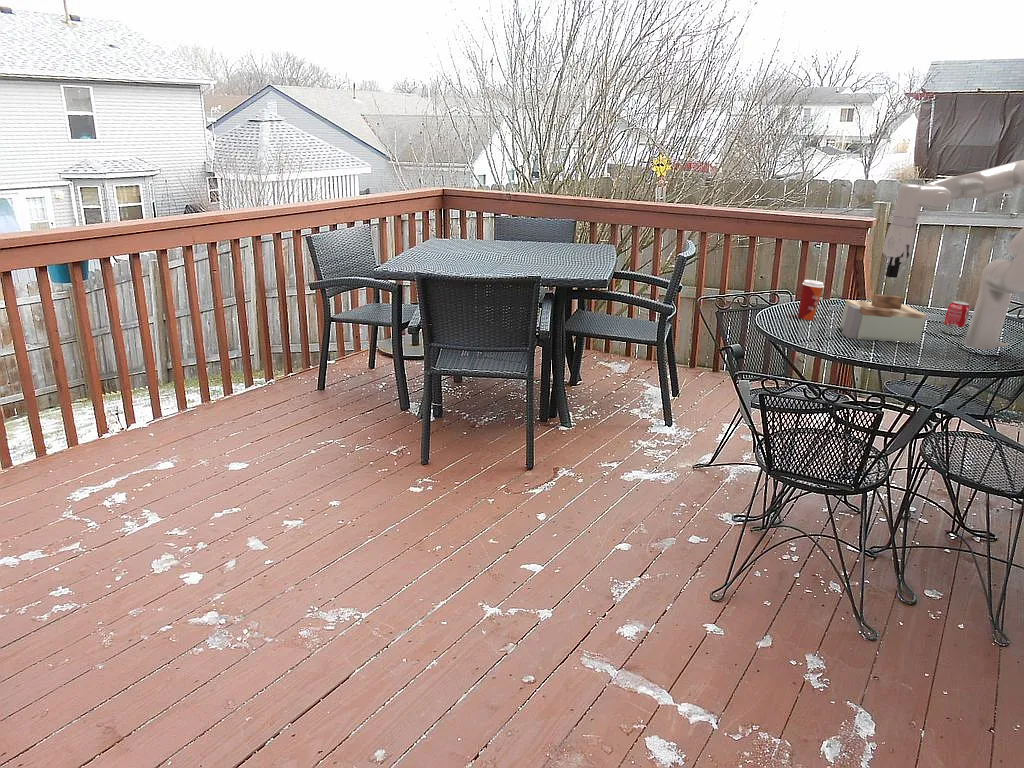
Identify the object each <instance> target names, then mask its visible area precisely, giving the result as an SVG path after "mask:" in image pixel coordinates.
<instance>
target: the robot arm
mask: <svg viewBox="0 0 1024 768" xmlns="http://www.w3.org/2000/svg"><path fill="white" fill-rule="evenodd" d="M1016 189H1024V159H1022V160H1017V161H1013V162H1009V163H1006V164H1001V165H997V166H994V167H992V168H991V167H990V168H986V169H984V170H980V171H975V172H971V173H966V174H962V175H961V174H960V175H957V176H952V177H947V178H943V179H939V180H935V181H933V182H929V183H926V184H923V185H921V184H914V183H902V184H901V185H900V186H899V188H898V191H897V196H896V201H895V205H894V209H893V210H894V211H893V213H892V218H891V223H890V225H889V227H888V229H887V233H886V234H885V235H886V236H885V238H884V242H883V245H882V253H883V255H885V257H886V258H887V268H886V272H885V277H888V278H893V279H894V278H895V279H896V278H897V277H898V274H899V270H900V267H901V266H902V263H906V262H907V259H909V258H910V256H911V253H912V250H913V245H914V239H915V232H916V231H915V230H916V228H917V222H918V219H919V214H920V212H921V211H920V210H921V208H926V209H930V210H935V211H936V210H938V211H939V210H942V209H945V208H946V207H948V206H949V204H951V202H952V200H953V201H954V200H960V199H981V198H987V197H990V196H994V195H998V194H1001V193H1005V192H1009V191H1013V190H1016ZM1008 253H1009V255H1010V256H1011V257H1012V258H1013V260H1012V261H1011V260H1010V259H1005V258H1000V259H999V258H998V259H994V260H992V261H990V262H989V263H987V265H986V266H984V268H983V270H982V273H981V277H980V287H979V292H978V295H977V296H978V297H977V299H976V303H975V306H974V310H973V312H972V316H971V319H970V323H969V326H968V329H967V332H966V336H965V340H964V344H965V345H966V346H968V347H972V348H977V349H994V348H996V347H1002V346H1008V345H1011V343H1010V342H1003V341H1001V340H999V339H1000V336H1001V332H1002V331H1003V330H1002V329H1003V328H1004V327H1003V326H1004V324H1005V323H1004V322H1005V320H1006V317H1007V315H1008V311H1009V309H1010V305H1011V299H1012V295H1013V294H1014V295H1015V294H1019V293H1022V292H1024V226H1022V228H1021V229H1020V231H1018V233H1017V234H1016V235H1015V236H1014V237H1013V239H1012V240H1011V241H1010V242H1009V244H1008Z"/></svg>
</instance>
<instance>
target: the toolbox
mask: <svg viewBox="0 0 1024 768" xmlns="http://www.w3.org/2000/svg"><path fill="white" fill-rule="evenodd" d="M859 311H860V307H859V306H856V305H849V306H848V305H846V303H845V305H844V308H843V312H842V316H841V320H840V325H839V329H840V330H841V331H842V332H841V335H843V336H844V337H846V339H856V340H865V341H874V340H878V341H877V342H886V341H900V342H919V343H920V340H921V336H922V334H923V330H924V326H925V323H926V319H918V318H907V317H895V316H891V317H880V316H868V315H863V314H862V313H860V312H859Z"/></svg>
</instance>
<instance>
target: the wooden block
mask: <svg viewBox="0 0 1024 768" xmlns="http://www.w3.org/2000/svg"><path fill="white" fill-rule="evenodd" d="M859 312H860V313H862V314H863V315H868V316H880V317H891V316H892V313H893V311H891V310H889V309H886V308H874V307H862V306H861V307H860V311H859Z"/></svg>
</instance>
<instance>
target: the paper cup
mask: <svg viewBox="0 0 1024 768" xmlns="http://www.w3.org/2000/svg"><path fill="white" fill-rule="evenodd" d="M801 284H802V289H801V294H800V295H801V296H800V300H799V308H798V313H797V318H798V317H799V318H798V319H800V318H802V319H801V320H804V319H806V320H805V321H813V320H814V319H815V315H816V313H817V309H818V305H819V302H820V299H821V295H822V292H823V289H824V288H825V286H824V282H822V281H819V280H814V279H804V280H803V282H802V283H801Z"/></svg>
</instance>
